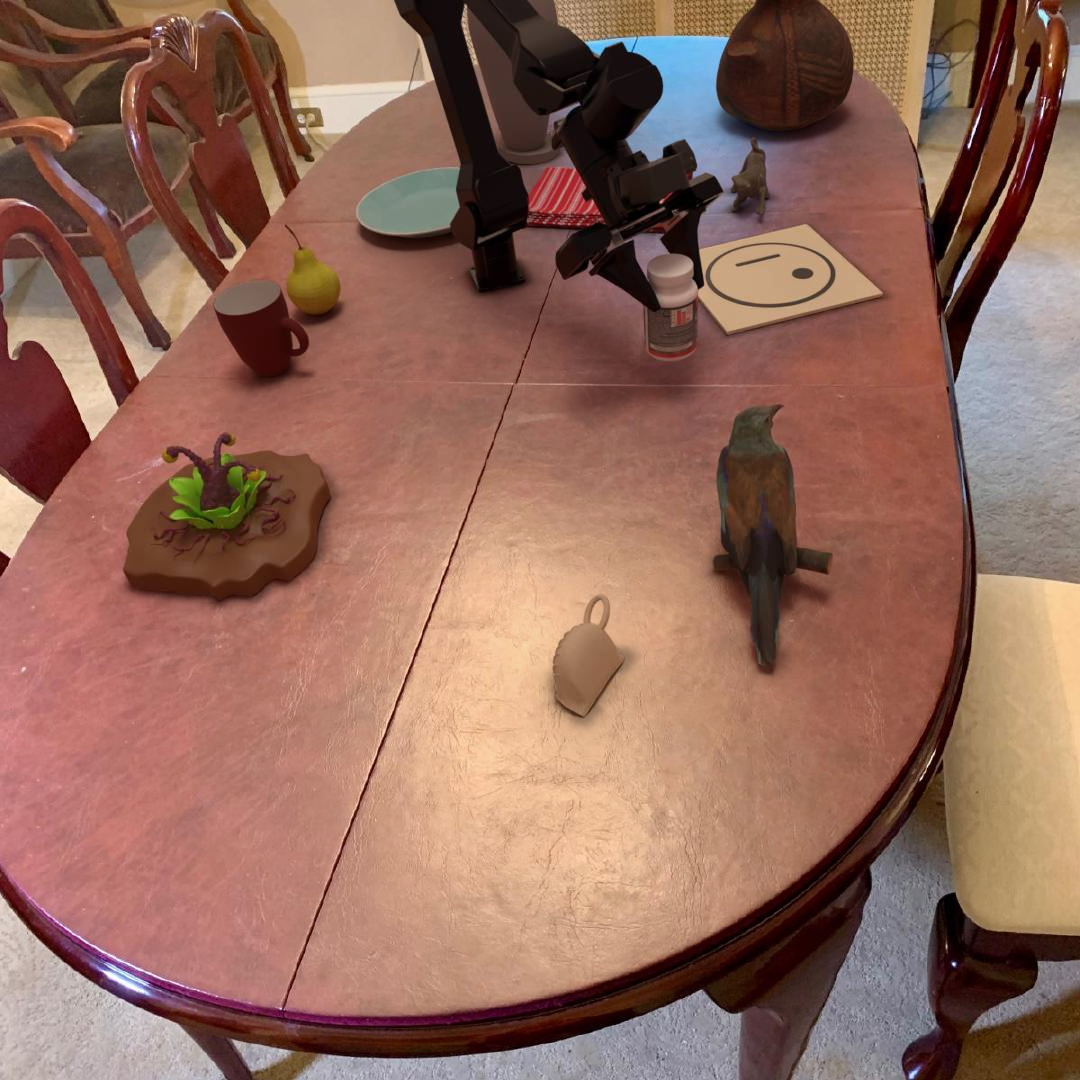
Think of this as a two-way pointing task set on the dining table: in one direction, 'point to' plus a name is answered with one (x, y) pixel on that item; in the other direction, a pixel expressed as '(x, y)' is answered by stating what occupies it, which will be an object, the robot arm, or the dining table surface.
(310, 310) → the fruit
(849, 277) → the board
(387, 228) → the plate
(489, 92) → the vase
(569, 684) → the decorative ornament
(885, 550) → the dining table surface
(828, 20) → the jug
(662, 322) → the pill bottle
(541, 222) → the dish towel
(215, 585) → the plant
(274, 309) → the mug
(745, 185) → the dog figurine
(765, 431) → the bird figurine
